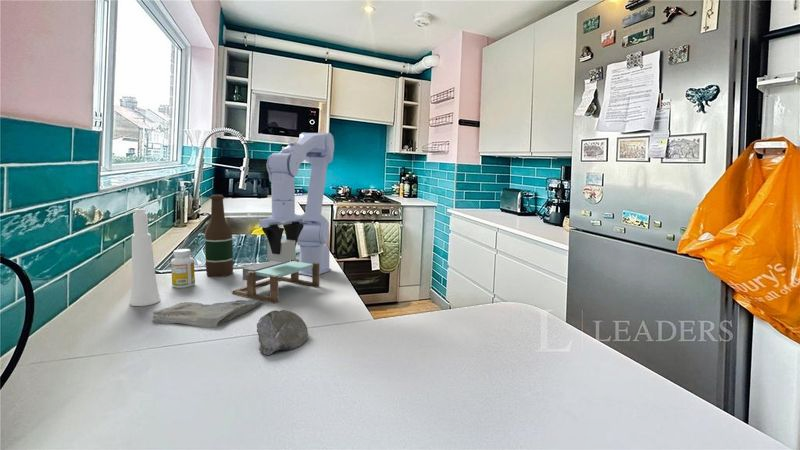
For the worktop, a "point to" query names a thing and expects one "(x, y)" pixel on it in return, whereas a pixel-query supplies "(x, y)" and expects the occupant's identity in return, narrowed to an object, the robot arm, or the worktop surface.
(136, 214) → the cosmetic bottle
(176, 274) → the supplement bottle
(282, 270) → the trapdoor plate
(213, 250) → the beer bottle
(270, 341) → the fossilized seashell
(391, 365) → the worktop surface
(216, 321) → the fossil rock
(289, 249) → the stone block
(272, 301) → the walnut frame
